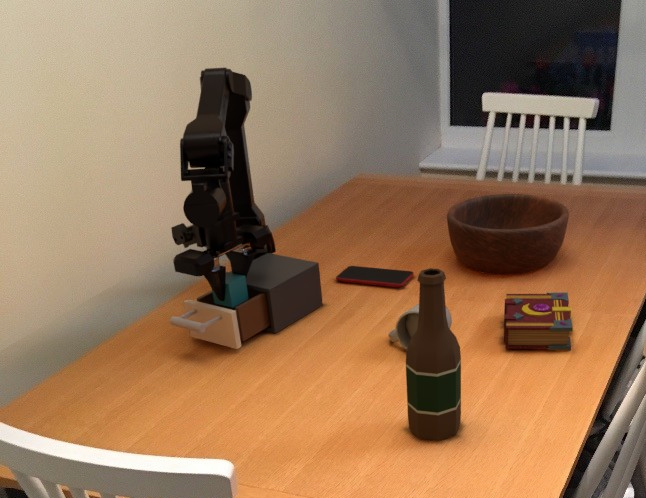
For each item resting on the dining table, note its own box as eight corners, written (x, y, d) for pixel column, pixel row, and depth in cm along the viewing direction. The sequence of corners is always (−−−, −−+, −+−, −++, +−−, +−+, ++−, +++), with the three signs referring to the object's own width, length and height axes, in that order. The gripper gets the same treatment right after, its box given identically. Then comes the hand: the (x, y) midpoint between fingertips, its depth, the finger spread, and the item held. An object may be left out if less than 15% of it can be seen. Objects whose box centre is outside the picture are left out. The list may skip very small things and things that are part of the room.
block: (214, 303, 150) (210, 280, 147) (230, 294, 153) (226, 271, 150) (232, 307, 147) (228, 284, 145) (248, 299, 150) (245, 275, 148)
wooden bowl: (431, 274, 173) (430, 225, 167) (467, 235, 192) (467, 190, 186) (550, 286, 164) (554, 235, 159) (576, 244, 183) (580, 196, 177)
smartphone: (349, 265, 177) (415, 271, 172) (349, 269, 178) (415, 275, 172) (334, 277, 172) (401, 284, 166) (334, 282, 172) (402, 288, 167)
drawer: (214, 362, 142) (207, 325, 139) (167, 349, 148) (159, 313, 144) (285, 320, 155) (281, 286, 151) (239, 309, 161) (234, 275, 157)
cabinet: (275, 333, 153) (269, 289, 148) (224, 320, 159) (217, 277, 154) (322, 305, 163) (318, 262, 158) (273, 294, 169) (267, 252, 164)
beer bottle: (405, 417, 126) (399, 263, 112) (456, 412, 126) (456, 258, 112) (411, 444, 119) (405, 285, 106) (465, 439, 120) (465, 280, 106)
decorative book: (503, 351, 142) (504, 324, 139) (504, 312, 155) (505, 287, 152) (571, 352, 141) (573, 324, 138) (566, 313, 154) (568, 287, 151)
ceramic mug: (455, 338, 147) (454, 297, 143) (435, 357, 141) (434, 315, 137) (401, 330, 152) (399, 290, 147) (380, 348, 146) (377, 307, 142)
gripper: (218, 188, 151) (232, 271, 160) (141, 218, 138) (161, 306, 147) (265, 195, 145) (277, 281, 154) (190, 227, 133) (207, 318, 142)
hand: (230, 295), depth 149 cm, fingers closed on block, 4 cm apart
